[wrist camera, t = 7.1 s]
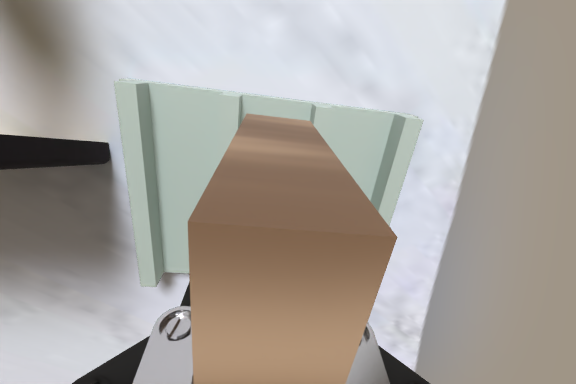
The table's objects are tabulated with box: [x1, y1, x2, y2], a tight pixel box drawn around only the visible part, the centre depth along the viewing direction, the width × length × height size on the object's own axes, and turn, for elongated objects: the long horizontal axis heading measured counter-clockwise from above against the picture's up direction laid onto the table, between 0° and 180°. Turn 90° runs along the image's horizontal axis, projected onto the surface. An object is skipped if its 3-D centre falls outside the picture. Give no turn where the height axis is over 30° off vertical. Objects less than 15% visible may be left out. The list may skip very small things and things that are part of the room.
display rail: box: [114, 79, 424, 287], centre depth 18 cm, size 13×17×3 cm
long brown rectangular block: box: [188, 113, 397, 384], centre depth 9 cm, size 12×3×8 cm, turn 173°
